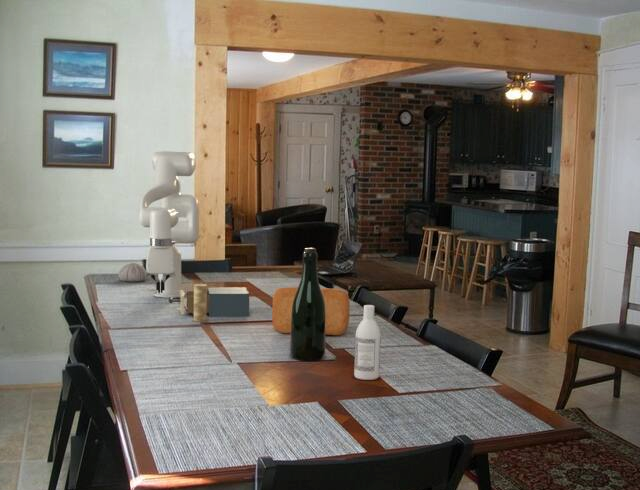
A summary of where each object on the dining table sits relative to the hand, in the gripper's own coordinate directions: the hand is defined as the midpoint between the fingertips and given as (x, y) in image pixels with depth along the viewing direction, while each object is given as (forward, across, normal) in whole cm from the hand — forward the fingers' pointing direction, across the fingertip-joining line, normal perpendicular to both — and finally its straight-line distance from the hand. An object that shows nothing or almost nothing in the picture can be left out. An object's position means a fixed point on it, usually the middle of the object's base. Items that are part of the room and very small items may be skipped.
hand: (160, 292), depth 297 cm
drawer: (+7, -12, 0) cm, 14 cm away
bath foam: (+9, -55, +95) cm, 110 cm away
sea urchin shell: (+8, +12, -81) cm, 82 cm away
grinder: (+8, -14, +14) cm, 21 cm away
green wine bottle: (+9, -43, +71) cm, 83 cm away
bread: (0, -48, +42) cm, 64 cm away
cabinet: (+8, -25, 0) cm, 26 cm away
